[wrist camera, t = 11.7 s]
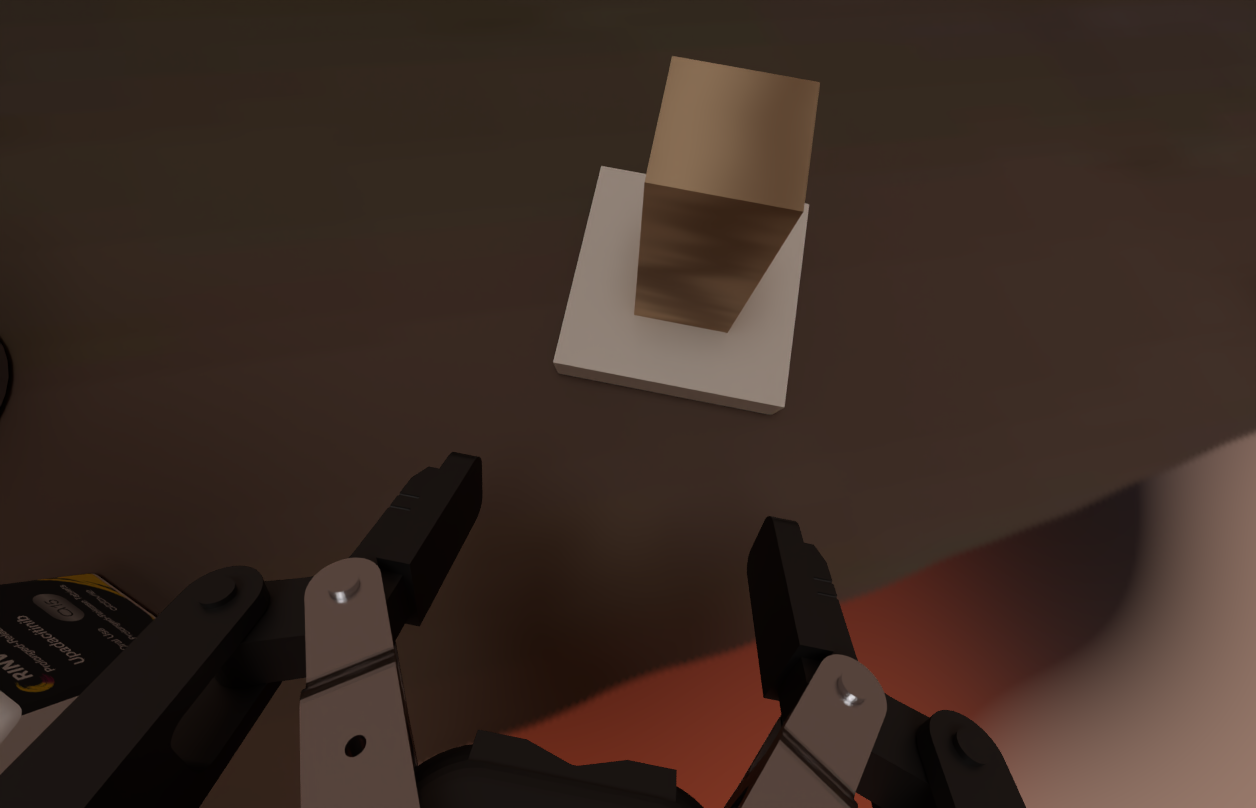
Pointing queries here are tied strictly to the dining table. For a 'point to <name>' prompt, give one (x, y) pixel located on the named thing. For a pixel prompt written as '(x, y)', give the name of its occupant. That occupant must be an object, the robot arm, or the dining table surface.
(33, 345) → the dining table surface
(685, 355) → the cream tile
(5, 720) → the medicine bottle
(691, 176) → the oak block
